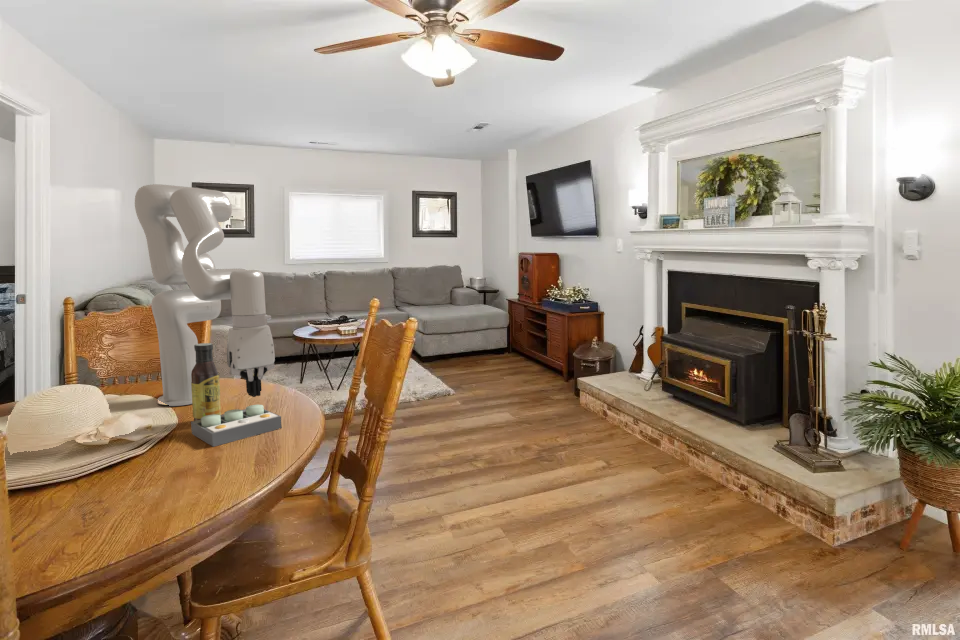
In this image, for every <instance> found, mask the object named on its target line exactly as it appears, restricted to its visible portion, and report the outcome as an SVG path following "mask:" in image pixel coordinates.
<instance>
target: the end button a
mask: <svg viewBox="0 0 960 640" xmlns="http://www.w3.org/2000/svg"><path fill="white" fill-rule="evenodd" d="M201 422H202V427H204V428H207V427H211V426H215V425H219V424H221V416H220V415H216V414H214V415H207V416H204V417H202V418H201Z"/></svg>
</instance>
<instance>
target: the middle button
mask: <svg viewBox="0 0 960 640" xmlns="http://www.w3.org/2000/svg"><path fill="white" fill-rule="evenodd" d="M242 410H243V409H238V408H237V409H229V410H226V411H225V412H224V413H223V414H224V417H225V421H226V422H231V421H235V420H240V419H243V411H242Z"/></svg>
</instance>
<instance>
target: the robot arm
mask: <svg viewBox="0 0 960 640" xmlns="http://www.w3.org/2000/svg"><path fill="white" fill-rule="evenodd" d="M232 209H233V208H232V203H231V200H230V199H229V198H228V196H227V195H226V194H225V193H224V192H223V191H221V190H216V189H207V188H201V187H191V186H180V185H172V184H171V185H170V184H156V183H155V184H154V183H153V184H146V185H143V186H141V187H139V188H138V189H137V191H136V193H135V194H134V210H135V214H136V216H137V219H138V222H139V224H140V226H141V228H142V230H143V232H144V235H145V238H146V245H147V251H148V256H149V257H148V258H149V261H150V262H149V263H150V267H151V272H152V276H153V278H154V280H155V282H156V283H157V284H159V285H163V286H181V285H186V286H187V285H188V287H189V288H188V289H187V288H182V289H170V290H164V291H160V292H158V293H157V294H155V295H154V296H153V298H152V300H151V303H150V304H151V305H150V306H151V312H152V315H153V318H154V322H155V326H156V330H157V331H156V333H157V339H158V351H159V359H160V360H159V361H160V370H161V371H160V372H161V383H162V395H161V396H159V397H158V398H157V400H159V401H161V402H163V403H165V404H167V405H169V406H168V407H180V406H188V405H189V406H190V405H192V387H191V382H192V377H191V373H192V370H193V368H194V366H195V364H196V351H195V348H194V345H195V344H199V341H198V338H197V335H196V333H195V332H194V330H192V329H191V328H190V326H189V325H188V324H190V323H197V322H205V321H206V322H207V321H213V320H215V319H217V318H218V317H219V316H220V315H221V310H222V300H223V301H224V300H225V301H226V300H230V302H231V304H230V306H231V318H232V327H230V328H228V334H227V342H226V346H227V347H226V362H227V366H228V368H230V369H229V375H231V376H236V377H237V376H238V377H241V378H242V379H244V380H245V385H246V393H247V394H248V396H250V397H252V398H256V397H260V396H261V392H262V391H263V389H262V379H263V378H264V375H265V374H266V373H267V372H268V371H270V370H273V369H275V367H276V365H275V361H276V359H275V358H276V355H275V353H276V352H275V344H274V338H273V335H272V331H271V327H270V325H268V321H271V320H272V315H271V314H267V312H266V311H267V310H266V295H265V293H266V292H265V278H264V273H262V271H260V270H255V269H253V270H252V269H245V268H216V266H215V263H214V260H213V259H212V257H211V256H210V255H209V254H208V253H209V252H211V251H213V250H215V249H216V248H218V247H219V246H220V245H221V244H222V243H224V239H225V233H224V231H223V229H222V227H221V225H220V223H224V222H227V221H228V220H229V219H230V218H231V216H232V213H233V212H232V211H233V210H232ZM168 218H176V221H177V222H178V225H179V226H180V228H181V231H182V232H183V234H184V237H185V238H186V240H187V242H188V243H187V245H186V247H185V248H184V243H183V237H182V234H181V232H180V230H179V228H177V226H176V225H175V224H174V223H173V222H171V221H170V220H169V219H168ZM157 400H156V401H157Z"/></svg>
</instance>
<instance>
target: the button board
mask: <svg viewBox="0 0 960 640" xmlns="http://www.w3.org/2000/svg"><path fill="white" fill-rule="evenodd" d="M241 410H242V411H243V419H240V420H235V421H231V422H226V421H225V417H224V413H223V414H222V413H221V415H220V416H221V424H219V425H215V426H211V427H207V428H204V427H202V422H201V420H196V421H194V420H192V421H190V425H191V434H192V435H193V436H194V437H196V438H197V439H200V440H202V441H203V442H205V443H206V444H208V445H209V446H211V447H217V446H222V445H225V444H228V443H233V442H235V441H240V440H244V439H247V438H251V437H254V436H259V435H262V434H265V433H268V432H273V431H276V429H277V430H280V429H279V428H281V429H282V416H281V415H278V414H277V413H275V412H272V411H269V410H267V409H265V408H264V414H260V415H256V416H252V417H249V416H247V415H246V408H244V409H241Z"/></svg>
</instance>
